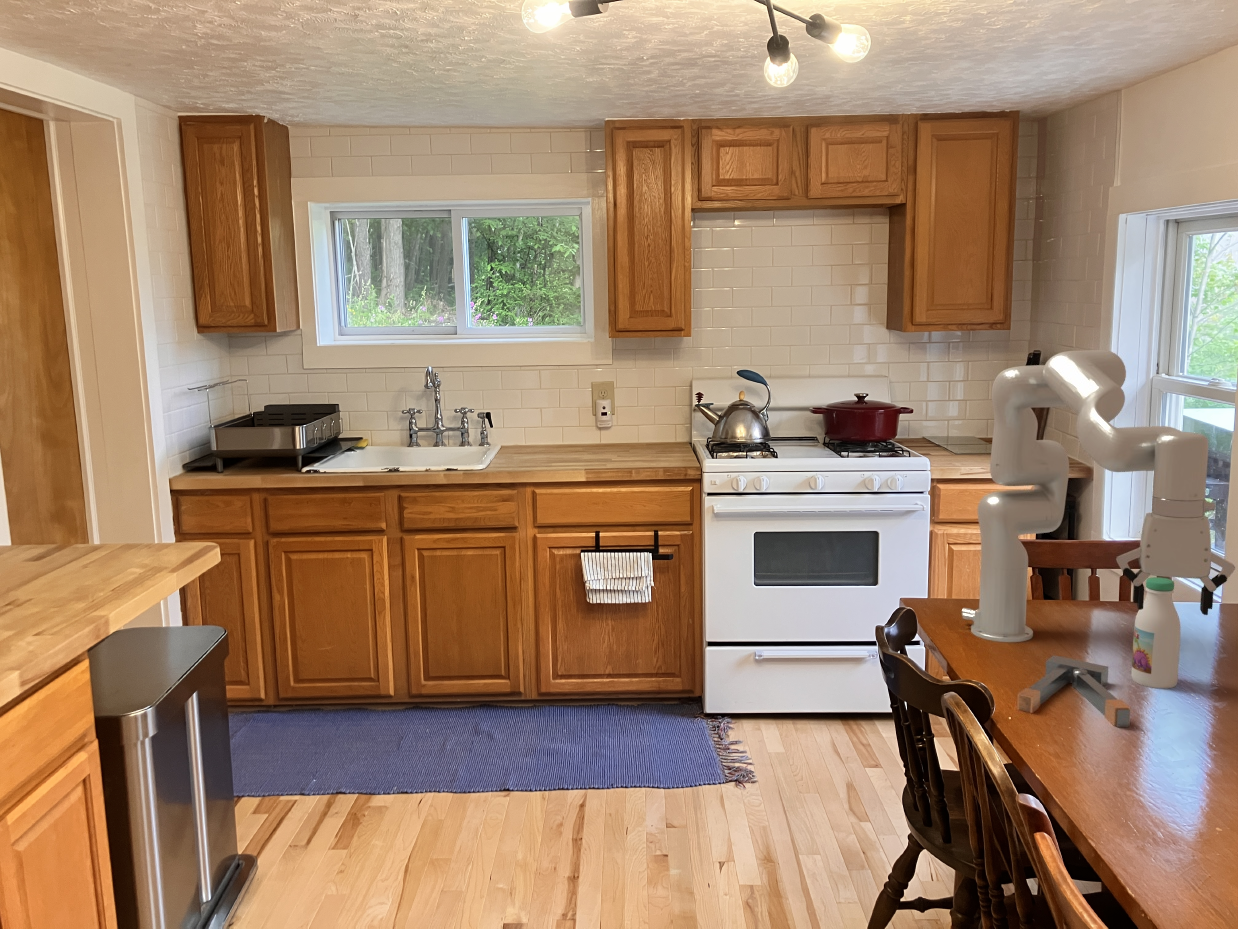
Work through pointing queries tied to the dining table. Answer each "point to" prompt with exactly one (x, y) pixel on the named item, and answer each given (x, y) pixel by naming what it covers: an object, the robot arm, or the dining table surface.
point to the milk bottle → (1156, 637)
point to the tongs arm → (1102, 699)
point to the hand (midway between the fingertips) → (1171, 610)
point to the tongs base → (1057, 681)
